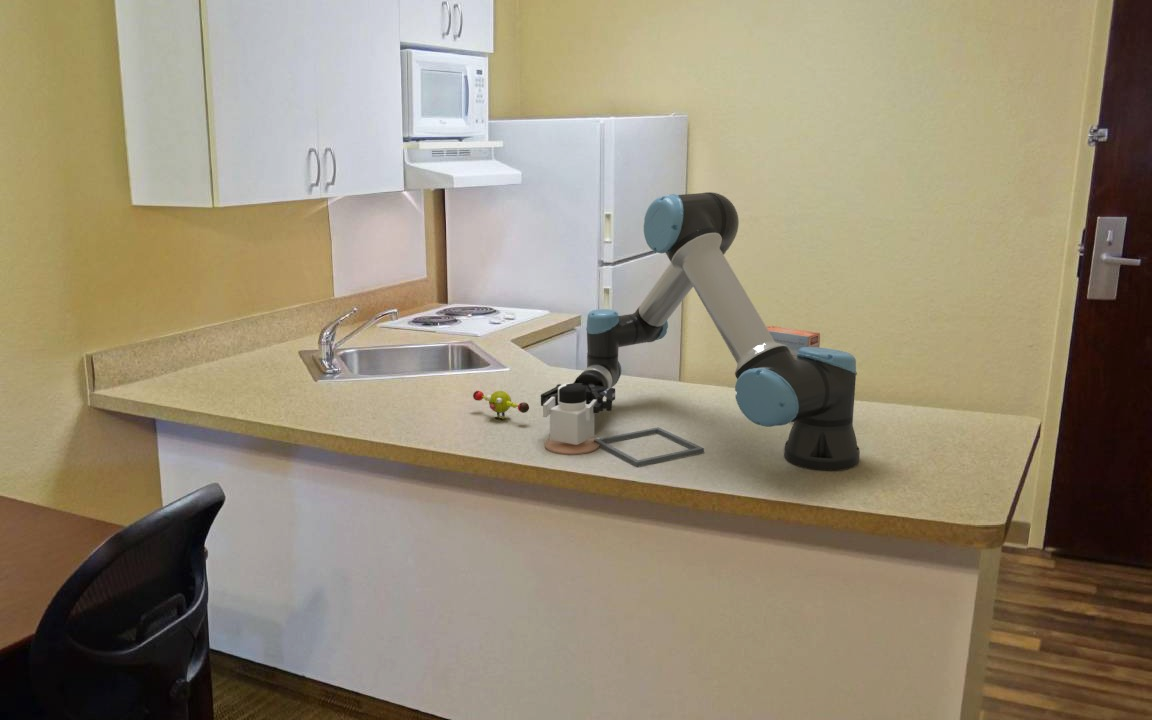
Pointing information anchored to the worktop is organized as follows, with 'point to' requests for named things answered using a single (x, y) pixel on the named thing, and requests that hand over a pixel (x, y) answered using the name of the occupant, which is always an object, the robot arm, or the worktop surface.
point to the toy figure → (500, 402)
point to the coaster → (571, 447)
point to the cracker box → (794, 338)
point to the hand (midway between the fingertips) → (566, 412)
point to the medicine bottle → (571, 416)
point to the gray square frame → (692, 450)
